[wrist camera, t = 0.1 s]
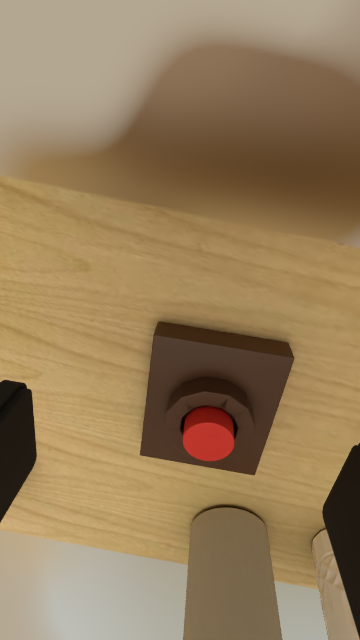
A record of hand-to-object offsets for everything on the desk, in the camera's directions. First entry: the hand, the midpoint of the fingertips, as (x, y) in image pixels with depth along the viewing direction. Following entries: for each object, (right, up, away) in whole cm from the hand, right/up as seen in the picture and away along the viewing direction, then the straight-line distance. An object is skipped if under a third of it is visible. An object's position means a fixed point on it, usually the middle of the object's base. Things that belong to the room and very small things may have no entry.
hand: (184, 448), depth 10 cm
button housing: (+2, -3, +18) cm, 19 cm away
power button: (+2, -4, +15) cm, 16 cm away
